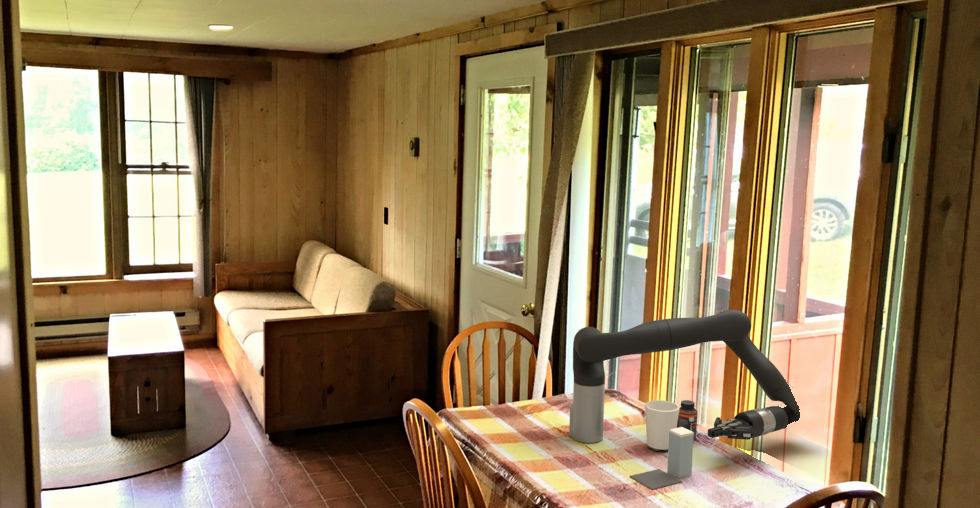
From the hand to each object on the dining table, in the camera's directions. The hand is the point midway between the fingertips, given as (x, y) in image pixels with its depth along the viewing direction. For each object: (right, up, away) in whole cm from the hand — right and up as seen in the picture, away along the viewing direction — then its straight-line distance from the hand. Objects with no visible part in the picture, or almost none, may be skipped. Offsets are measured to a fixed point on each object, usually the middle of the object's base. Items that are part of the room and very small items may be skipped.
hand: (709, 433), depth 222 cm
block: (-9, -10, -4) cm, 14 cm away
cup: (-10, -7, +15) cm, 19 cm away
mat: (-16, -10, -8) cm, 21 cm away
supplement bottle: (-1, -6, +22) cm, 23 cm away
